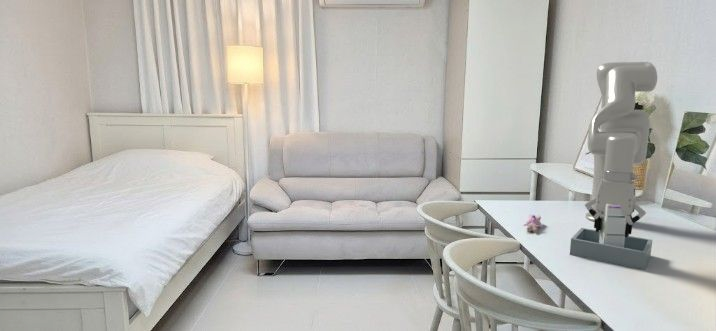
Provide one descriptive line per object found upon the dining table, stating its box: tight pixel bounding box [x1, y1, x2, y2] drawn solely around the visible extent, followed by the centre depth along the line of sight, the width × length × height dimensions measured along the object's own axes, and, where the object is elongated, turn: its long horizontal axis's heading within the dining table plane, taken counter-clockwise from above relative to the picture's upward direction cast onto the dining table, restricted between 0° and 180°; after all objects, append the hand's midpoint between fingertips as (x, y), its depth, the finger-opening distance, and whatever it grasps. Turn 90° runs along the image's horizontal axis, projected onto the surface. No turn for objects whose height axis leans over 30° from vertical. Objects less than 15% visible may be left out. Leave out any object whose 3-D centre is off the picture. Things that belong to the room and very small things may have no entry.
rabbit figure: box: [523, 214, 543, 234], centre depth 170 cm, size 6×6×15 cm
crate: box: [569, 227, 653, 271], centre depth 143 cm, size 14×20×5 cm
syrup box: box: [599, 203, 627, 248], centre depth 142 cm, size 6×6×14 cm
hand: (612, 233), depth 143 cm, fingers closed on syrup box, 7 cm apart
